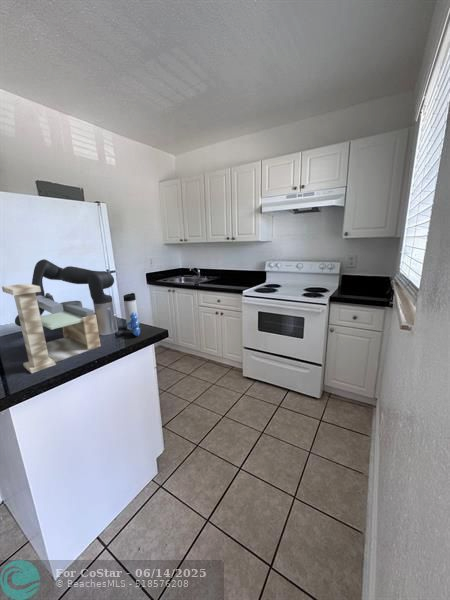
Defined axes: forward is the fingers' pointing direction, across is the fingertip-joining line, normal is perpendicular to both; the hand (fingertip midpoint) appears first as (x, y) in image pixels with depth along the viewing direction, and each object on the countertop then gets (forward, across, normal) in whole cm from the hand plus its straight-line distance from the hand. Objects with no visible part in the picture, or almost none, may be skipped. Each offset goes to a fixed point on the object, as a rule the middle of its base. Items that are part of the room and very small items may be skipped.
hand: (41, 295), depth 106 cm
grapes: (+3, +32, +31) cm, 44 cm away
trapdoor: (-3, +5, +12) cm, 13 cm away
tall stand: (-2, -10, +28) cm, 30 cm away
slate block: (+1, 0, +6) cm, 6 cm away
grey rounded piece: (-33, +18, +10) cm, 39 cm away
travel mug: (-6, +38, +26) cm, 46 cm away
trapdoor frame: (-9, +5, +24) cm, 26 cm away
